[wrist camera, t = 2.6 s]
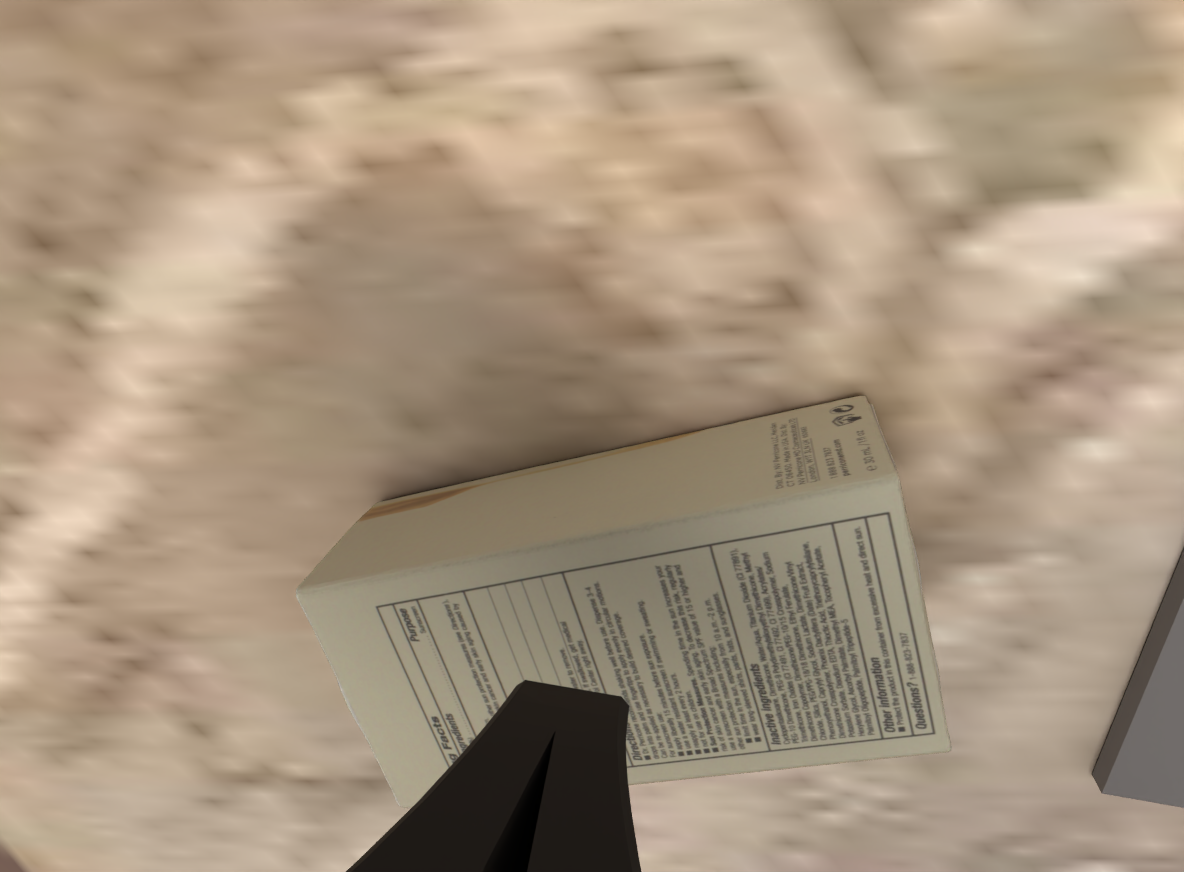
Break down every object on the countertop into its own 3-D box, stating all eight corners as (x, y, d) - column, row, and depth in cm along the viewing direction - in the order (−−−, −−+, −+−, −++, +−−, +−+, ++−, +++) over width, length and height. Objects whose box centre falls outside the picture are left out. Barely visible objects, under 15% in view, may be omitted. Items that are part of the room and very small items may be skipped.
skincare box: (873, 386, 17) (371, 485, 20) (911, 473, 13) (281, 579, 16) (915, 635, 19) (455, 689, 22) (959, 774, 15) (392, 815, 19)
